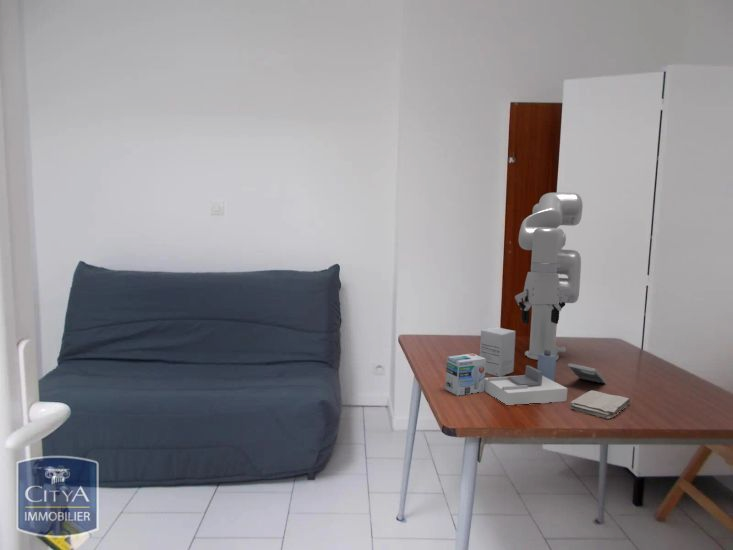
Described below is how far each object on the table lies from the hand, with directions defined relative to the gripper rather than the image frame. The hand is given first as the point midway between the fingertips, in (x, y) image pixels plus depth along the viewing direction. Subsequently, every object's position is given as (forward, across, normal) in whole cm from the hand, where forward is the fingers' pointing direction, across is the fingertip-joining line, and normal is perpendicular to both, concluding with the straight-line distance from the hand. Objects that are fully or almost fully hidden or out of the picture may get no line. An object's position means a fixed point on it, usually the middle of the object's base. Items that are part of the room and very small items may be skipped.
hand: (539, 322), depth 164 cm
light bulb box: (+22, +23, -2) cm, 32 cm away
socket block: (+22, +6, +4) cm, 23 cm away
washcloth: (+23, -12, +15) cm, 30 cm away
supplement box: (+22, +5, -20) cm, 30 cm away
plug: (+22, -6, -5) cm, 23 cm away
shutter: (+17, +6, +4) cm, 19 cm away
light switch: (+22, -20, -4) cm, 30 cm away
